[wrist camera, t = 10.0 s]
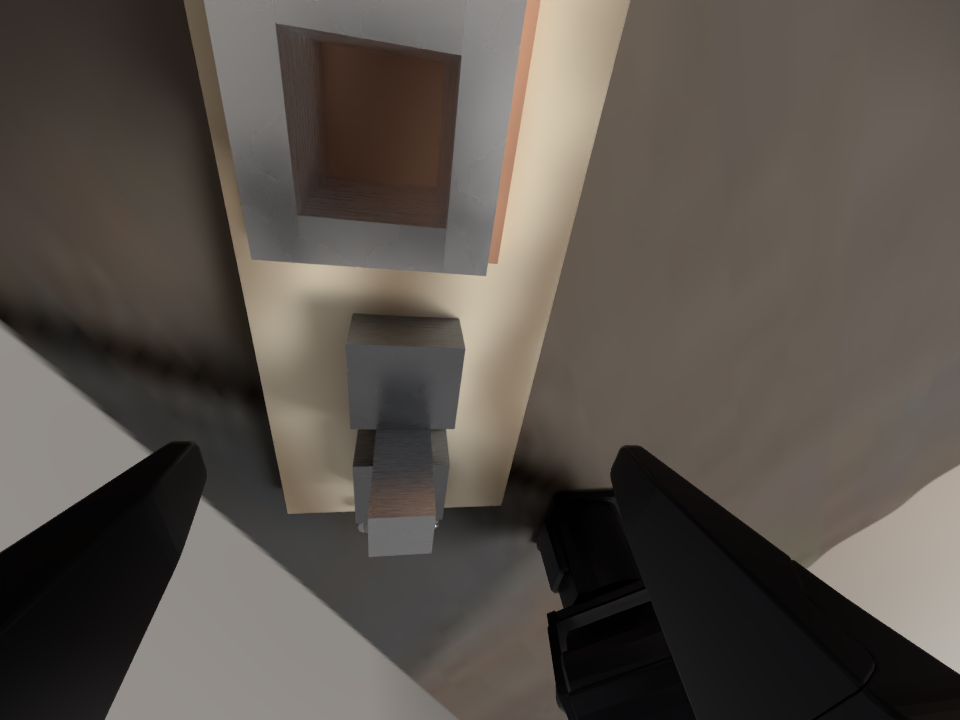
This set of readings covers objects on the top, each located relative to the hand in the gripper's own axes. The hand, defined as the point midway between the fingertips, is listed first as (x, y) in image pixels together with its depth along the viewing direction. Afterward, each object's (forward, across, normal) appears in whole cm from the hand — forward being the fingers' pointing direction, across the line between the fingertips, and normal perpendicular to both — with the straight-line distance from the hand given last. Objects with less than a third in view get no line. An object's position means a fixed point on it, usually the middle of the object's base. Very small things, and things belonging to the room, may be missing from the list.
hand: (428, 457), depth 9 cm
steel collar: (+9, +2, -6) cm, 11 cm away
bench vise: (+10, 0, +8) cm, 13 cm away
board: (+12, +1, +2) cm, 12 cm away
